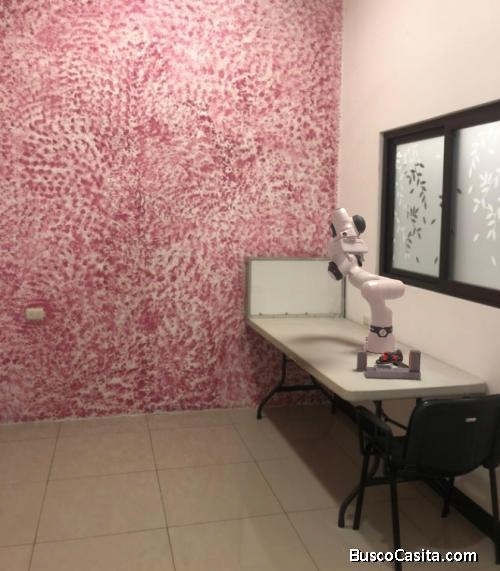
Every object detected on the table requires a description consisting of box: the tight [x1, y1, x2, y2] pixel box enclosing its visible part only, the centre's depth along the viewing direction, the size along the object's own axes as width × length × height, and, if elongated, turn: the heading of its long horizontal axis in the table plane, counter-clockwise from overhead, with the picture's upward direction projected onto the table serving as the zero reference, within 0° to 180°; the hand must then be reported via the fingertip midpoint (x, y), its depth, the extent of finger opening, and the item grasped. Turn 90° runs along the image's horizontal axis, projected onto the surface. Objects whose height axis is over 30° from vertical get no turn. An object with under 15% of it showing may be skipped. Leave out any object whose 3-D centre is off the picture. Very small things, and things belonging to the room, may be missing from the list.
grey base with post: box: [364, 349, 422, 380], centre depth 276 cm, size 8×24×12 cm, turn 86°
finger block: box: [356, 349, 368, 372], centre depth 287 cm, size 4×4×9 cm
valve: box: [375, 349, 409, 368], centre depth 298 cm, size 6×26×15 cm
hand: (357, 261), depth 298 cm, fingers open, 8 cm apart
